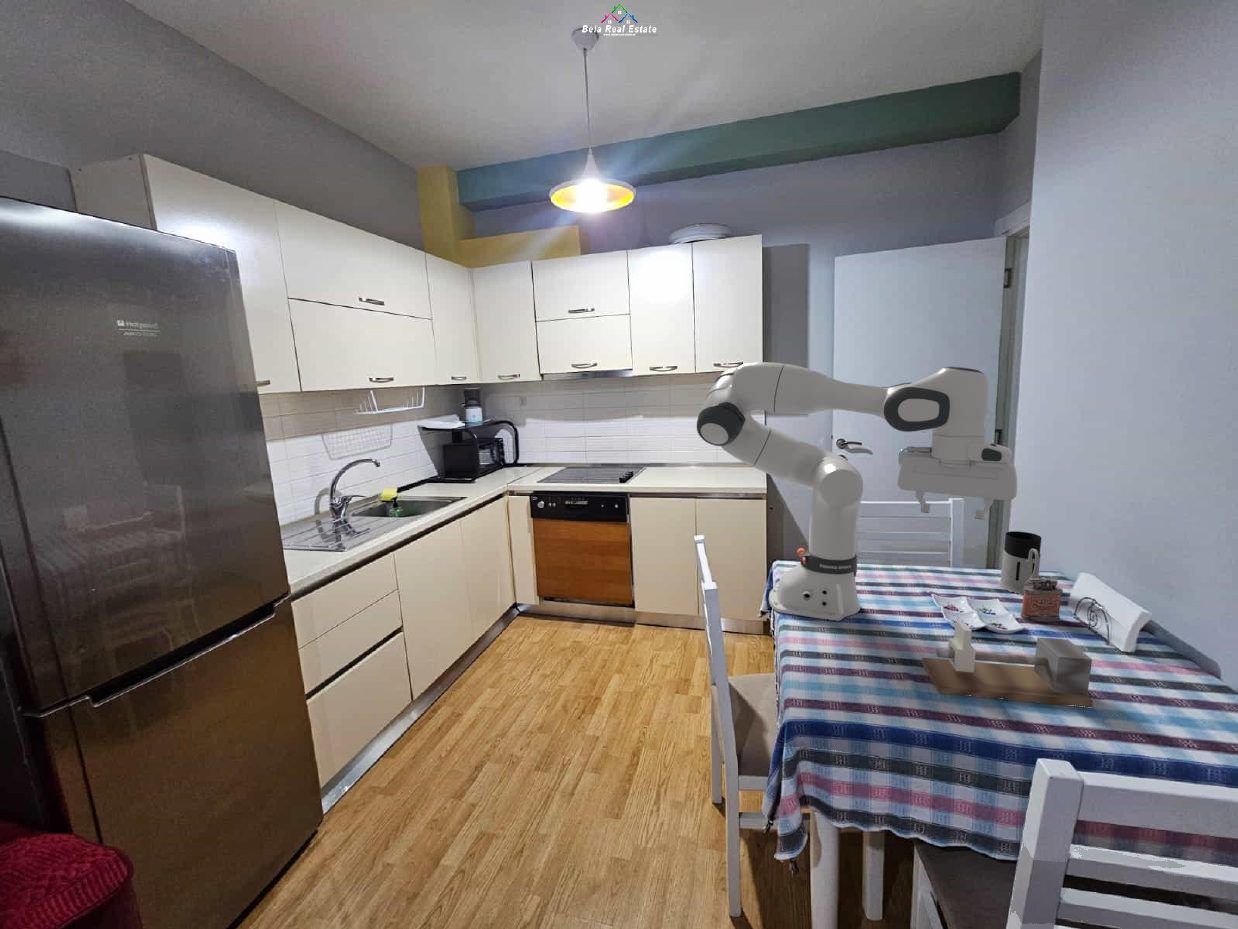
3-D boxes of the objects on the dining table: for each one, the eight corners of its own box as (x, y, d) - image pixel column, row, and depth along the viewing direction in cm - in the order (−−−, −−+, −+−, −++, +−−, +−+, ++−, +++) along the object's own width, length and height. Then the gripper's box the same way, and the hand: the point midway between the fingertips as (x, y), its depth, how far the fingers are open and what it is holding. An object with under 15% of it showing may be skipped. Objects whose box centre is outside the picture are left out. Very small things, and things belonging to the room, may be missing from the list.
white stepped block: (955, 670, 97) (959, 629, 96) (947, 658, 101) (950, 619, 100) (973, 672, 97) (977, 631, 95) (964, 659, 101) (967, 620, 99)
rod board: (939, 693, 96) (942, 651, 95) (922, 664, 106) (924, 626, 104) (1091, 708, 90) (1097, 664, 89) (1058, 676, 100) (1063, 635, 98)
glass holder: (1031, 583, 141) (1036, 531, 138) (1054, 606, 128) (1060, 548, 125) (993, 580, 144) (998, 529, 141) (1012, 602, 131) (1017, 546, 128)
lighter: (1052, 614, 124) (1057, 575, 122) (1063, 621, 120) (1067, 581, 119) (1017, 614, 124) (1020, 575, 123) (1026, 621, 121) (1030, 581, 119)
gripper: (895, 447, 106) (891, 511, 109) (1019, 454, 93) (1012, 527, 96) (902, 443, 111) (898, 505, 114) (1021, 450, 98) (1014, 519, 100)
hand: (951, 515), depth 105 cm, fingers open, 8 cm apart
